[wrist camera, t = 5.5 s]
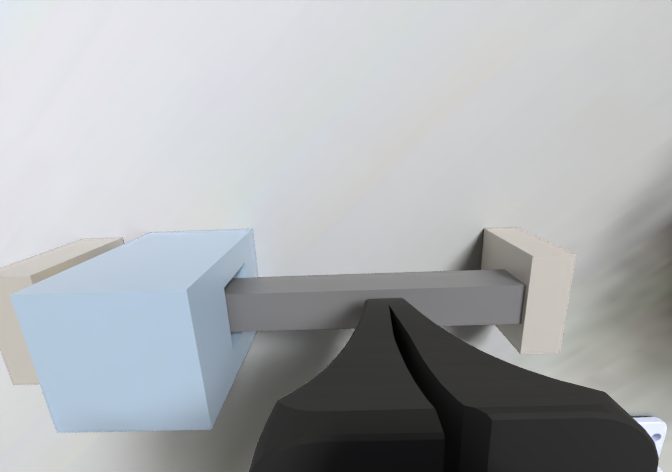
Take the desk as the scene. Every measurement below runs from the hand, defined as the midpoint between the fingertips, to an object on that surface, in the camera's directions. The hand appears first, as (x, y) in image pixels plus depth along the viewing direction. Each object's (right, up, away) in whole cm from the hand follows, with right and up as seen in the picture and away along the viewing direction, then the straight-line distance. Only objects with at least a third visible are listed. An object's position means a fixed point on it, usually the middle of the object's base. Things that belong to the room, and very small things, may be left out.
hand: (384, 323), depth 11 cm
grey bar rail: (-4, +1, +5) cm, 6 cm away
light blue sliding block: (-8, +1, +5) cm, 9 cm away
